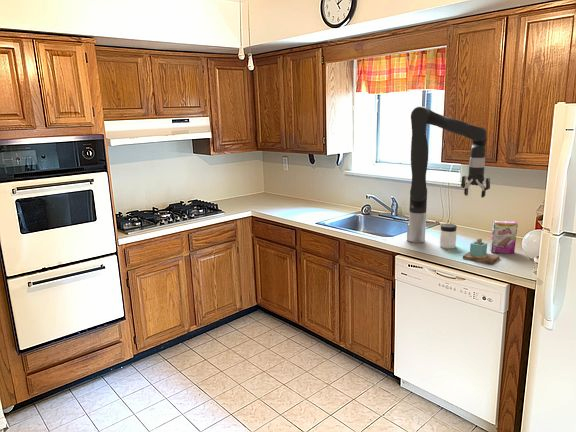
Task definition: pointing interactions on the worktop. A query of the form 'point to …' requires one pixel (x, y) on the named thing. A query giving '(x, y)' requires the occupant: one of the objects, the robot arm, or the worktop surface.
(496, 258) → the post stand
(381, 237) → the worktop surface
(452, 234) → the jar
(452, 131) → the robot arm
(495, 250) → the candy bar box
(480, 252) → the collar
